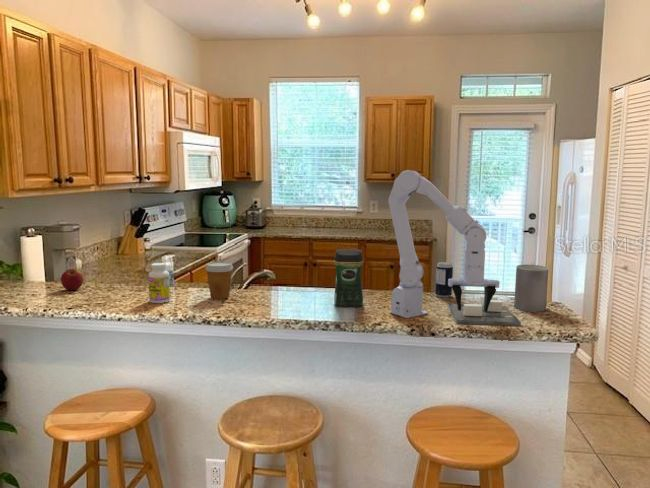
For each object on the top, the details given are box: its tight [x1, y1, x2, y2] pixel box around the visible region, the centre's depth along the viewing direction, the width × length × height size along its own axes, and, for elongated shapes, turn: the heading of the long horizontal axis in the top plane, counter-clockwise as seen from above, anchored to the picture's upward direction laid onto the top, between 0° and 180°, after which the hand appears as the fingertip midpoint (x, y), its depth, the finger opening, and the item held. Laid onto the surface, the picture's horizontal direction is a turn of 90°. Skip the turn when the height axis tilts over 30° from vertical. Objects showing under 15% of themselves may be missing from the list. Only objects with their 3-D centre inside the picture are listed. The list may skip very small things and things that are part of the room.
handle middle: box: [483, 299, 503, 312], centre depth 152 cm, size 5×2×3 cm, turn 83°
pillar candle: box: [513, 262, 549, 313], centre depth 159 cm, size 10×10×15 cm
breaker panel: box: [447, 303, 522, 327], centre depth 151 cm, size 18×19×1 cm
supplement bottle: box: [148, 262, 171, 304], centre depth 165 cm, size 7×7×13 cm
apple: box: [60, 268, 85, 291], centre depth 180 cm, size 8×8×8 cm
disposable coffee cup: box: [205, 261, 234, 300], centre depth 170 cm, size 10×10×12 cm
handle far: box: [479, 294, 498, 306], centre depth 158 cm, size 5×2×3 cm, turn 83°
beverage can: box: [435, 261, 454, 298], centre depth 175 cm, size 6×6×12 cm
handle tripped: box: [463, 303, 482, 316], centre depth 147 cm, size 5×2×3 cm, turn 83°
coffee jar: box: [333, 248, 364, 308], centre depth 162 cm, size 10×8×19 cm
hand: (472, 310), depth 147 cm, fingers open, 7 cm apart
